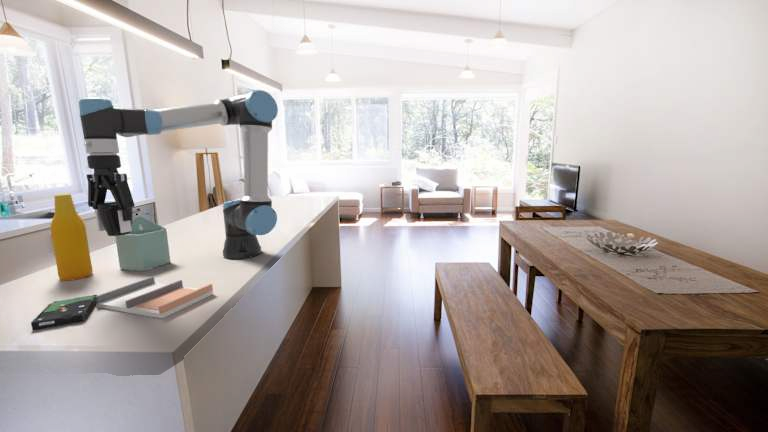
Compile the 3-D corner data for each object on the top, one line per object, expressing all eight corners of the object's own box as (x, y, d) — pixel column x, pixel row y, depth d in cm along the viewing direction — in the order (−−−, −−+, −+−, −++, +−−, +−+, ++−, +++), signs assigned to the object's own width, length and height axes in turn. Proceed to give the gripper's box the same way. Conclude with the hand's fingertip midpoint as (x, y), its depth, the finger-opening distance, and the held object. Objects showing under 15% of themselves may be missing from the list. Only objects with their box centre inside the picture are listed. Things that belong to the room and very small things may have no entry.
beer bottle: (82, 271, 133) (69, 193, 129) (99, 273, 130) (86, 193, 126) (52, 279, 125) (37, 196, 120) (70, 282, 122) (55, 196, 117)
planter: (116, 274, 129) (108, 220, 125) (120, 268, 136) (112, 217, 132) (169, 267, 136) (162, 215, 133) (170, 262, 143) (164, 213, 140)
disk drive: (86, 323, 92) (98, 302, 105) (84, 313, 92) (97, 293, 104) (32, 333, 87) (52, 310, 100) (30, 322, 87) (50, 300, 100)
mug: (92, 241, 101) (87, 207, 99) (107, 232, 112) (103, 202, 110) (127, 238, 104) (122, 205, 102) (138, 230, 115) (134, 200, 113)
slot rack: (153, 286, 116) (152, 276, 116) (213, 294, 108) (212, 284, 108) (96, 307, 100) (95, 296, 100) (162, 318, 92) (160, 306, 92)
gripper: (64, 155, 104) (77, 231, 108) (115, 153, 97) (127, 235, 100) (92, 155, 111) (104, 226, 115) (142, 153, 104) (152, 230, 107)
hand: (114, 230), depth 108 cm, fingers closed on mug, 9 cm apart
